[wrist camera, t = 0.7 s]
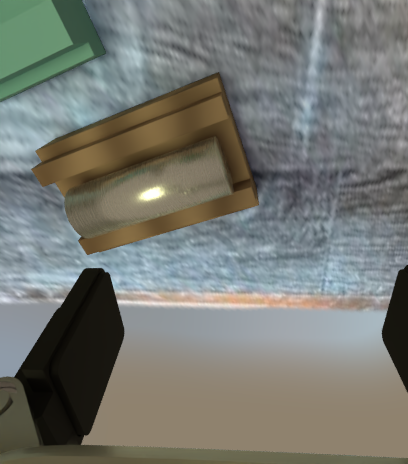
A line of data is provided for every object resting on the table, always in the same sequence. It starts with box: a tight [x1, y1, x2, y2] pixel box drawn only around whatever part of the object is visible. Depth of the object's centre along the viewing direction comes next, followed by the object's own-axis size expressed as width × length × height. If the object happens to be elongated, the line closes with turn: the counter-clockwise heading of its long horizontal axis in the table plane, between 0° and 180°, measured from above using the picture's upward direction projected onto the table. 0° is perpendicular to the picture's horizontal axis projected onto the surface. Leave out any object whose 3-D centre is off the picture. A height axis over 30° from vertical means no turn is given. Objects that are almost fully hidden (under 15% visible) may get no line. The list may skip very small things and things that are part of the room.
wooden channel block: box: [31, 72, 259, 255], centre depth 33 cm, size 18×12×6 cm, turn 111°
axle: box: [64, 136, 234, 239], centre depth 30 cm, size 14×5×5 cm, turn 111°
